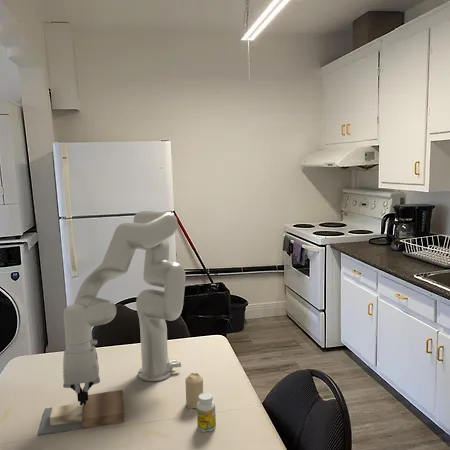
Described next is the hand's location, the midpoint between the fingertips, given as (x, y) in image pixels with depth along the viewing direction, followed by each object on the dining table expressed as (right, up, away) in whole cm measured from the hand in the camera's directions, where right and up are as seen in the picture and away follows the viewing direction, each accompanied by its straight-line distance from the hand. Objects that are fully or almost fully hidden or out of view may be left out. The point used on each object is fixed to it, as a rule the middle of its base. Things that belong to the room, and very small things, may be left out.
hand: (83, 402), depth 133 cm
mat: (-6, -5, -1) cm, 7 cm away
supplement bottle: (+38, -5, -7) cm, 39 cm away
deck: (+6, -4, +2) cm, 7 cm away
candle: (+34, -3, +6) cm, 34 cm away
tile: (-4, -3, -1) cm, 5 cm away
